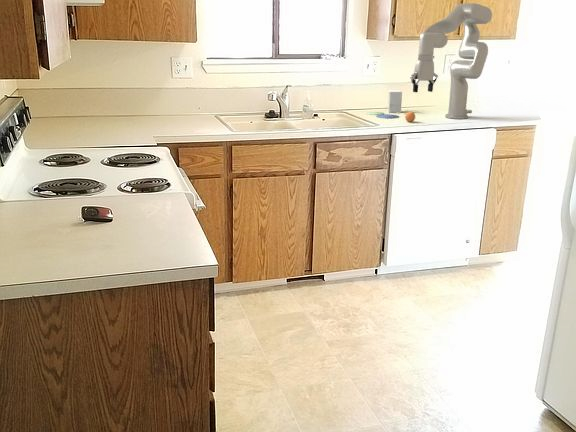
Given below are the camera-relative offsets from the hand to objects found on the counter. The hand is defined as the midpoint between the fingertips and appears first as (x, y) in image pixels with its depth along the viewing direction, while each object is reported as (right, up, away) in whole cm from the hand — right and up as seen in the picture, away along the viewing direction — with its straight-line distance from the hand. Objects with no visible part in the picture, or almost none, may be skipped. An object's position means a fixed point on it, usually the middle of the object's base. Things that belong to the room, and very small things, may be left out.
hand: (422, 91), depth 315 cm
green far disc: (-19, -4, +40) cm, 45 cm away
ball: (-4, -11, +13) cm, 17 cm away
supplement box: (-7, -3, +46) cm, 47 cm away
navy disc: (-13, -8, +30) cm, 34 cm away
